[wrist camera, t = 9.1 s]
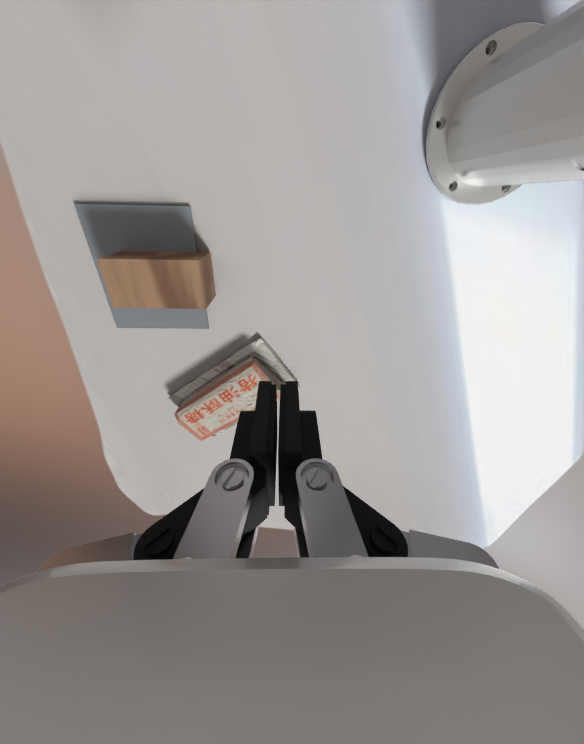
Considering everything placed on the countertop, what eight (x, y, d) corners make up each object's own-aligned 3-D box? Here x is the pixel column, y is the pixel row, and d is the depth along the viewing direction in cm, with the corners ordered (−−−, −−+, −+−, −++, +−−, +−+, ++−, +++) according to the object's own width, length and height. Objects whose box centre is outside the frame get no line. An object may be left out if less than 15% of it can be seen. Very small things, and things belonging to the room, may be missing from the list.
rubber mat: (190, 206, 29) (189, 206, 29) (208, 327, 37) (208, 328, 37) (76, 203, 29) (74, 203, 29) (118, 326, 37) (117, 327, 36)
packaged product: (207, 453, 44) (158, 413, 39) (214, 431, 48) (170, 393, 43) (302, 401, 38) (258, 349, 34) (300, 382, 43) (261, 333, 38)
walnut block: (198, 260, 27) (96, 258, 27) (206, 308, 30) (113, 307, 30) (210, 252, 32) (122, 250, 31) (215, 295, 34) (134, 294, 34)
